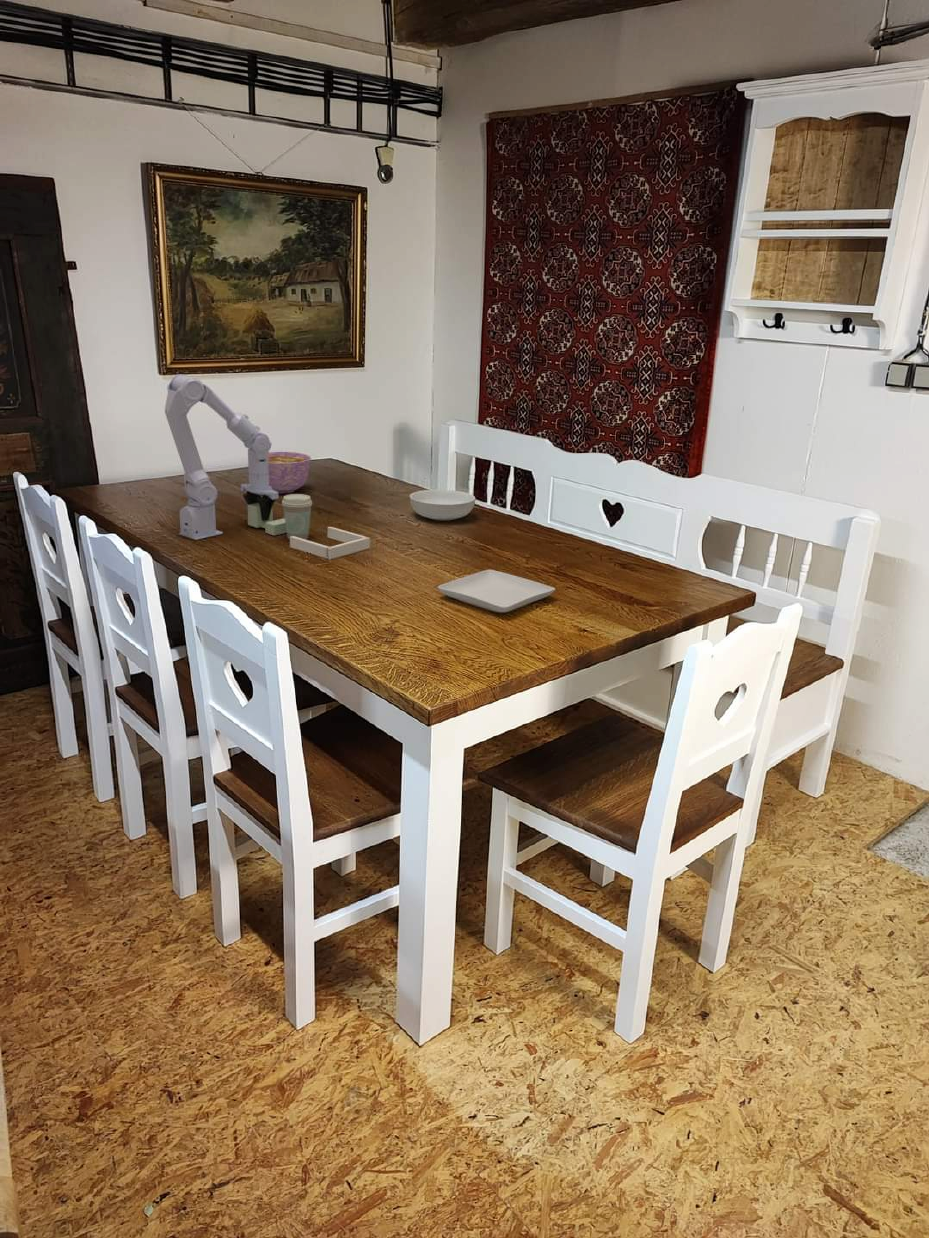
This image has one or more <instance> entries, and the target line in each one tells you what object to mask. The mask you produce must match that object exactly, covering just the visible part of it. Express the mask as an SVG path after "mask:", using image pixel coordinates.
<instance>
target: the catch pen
mask: <svg viewBox="0 0 929 1238" xmlns="http://www.w3.org/2000/svg"><path fill="white" fill-rule="evenodd" d="M326 529H327V538H328V539H332V540H335V541H339V542H341V543H340V544H336V545H333V546H328V545H325V544H321V543H318V542H315V541H312V540H308V539H306V540H305V539H302V538H298V537H295V536H291V537H290V539H289V548H292V549H295V550H299V551H301V552H304V553H307V552H308V553H309V554H310V553H311V555H314V556H317V557H321V558H323V559H327V560H332V559H337V558H339V557H340V558H341V557H343V556H347V555H350V554H354V553H357V552H361V551H364V550H368V549H371V538H370V536H369V537H368V536H366V535H362V534H359V533H354V532H350V531H347V530H343V529H340V528H337V527H333V526H327V528H326ZM308 553H307V554H308Z"/></svg>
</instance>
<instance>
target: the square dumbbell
mask: <svg viewBox="0 0 929 1238" xmlns="http://www.w3.org/2000/svg"><path fill="white" fill-rule="evenodd" d="M273 506H274V505H273ZM273 506H272V509H271V512H270V517H269V520H266V521H262V518H261V510H260V506H259V503H255V504H250V505H248V504H247V525H248V526H251V527H254V528H256V529H258V528H263V529H265V533H266V534H269V535H272V536H277V535H282V534H285V533H286V534H287V530H286V523H285V517H283V518H278V519H275V520H273V519H274V518H273V515H274V513H273V512H274V511H273V508H274V507H273Z"/></svg>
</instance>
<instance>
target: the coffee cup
mask: <svg viewBox="0 0 929 1238" xmlns="http://www.w3.org/2000/svg"><path fill="white" fill-rule="evenodd" d="M311 498H312V497H311V496H310V495H307V494H302V493H289V494H286V495H284V496H283V498H282V501H281V505H282V508H283V515H284V516H283V517H284V518H285V523H286V530H287V532H286V536H287V539H289V540H290V537H291V536H295V537H298V538H302V539H305V540H308V539H309V533H310V522H311V510H312V505H313V500H312V499H311Z"/></svg>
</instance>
